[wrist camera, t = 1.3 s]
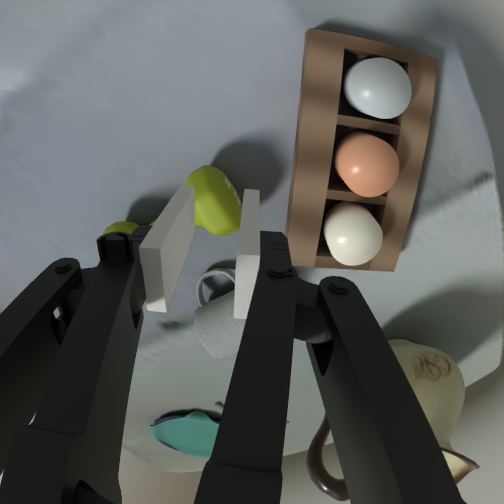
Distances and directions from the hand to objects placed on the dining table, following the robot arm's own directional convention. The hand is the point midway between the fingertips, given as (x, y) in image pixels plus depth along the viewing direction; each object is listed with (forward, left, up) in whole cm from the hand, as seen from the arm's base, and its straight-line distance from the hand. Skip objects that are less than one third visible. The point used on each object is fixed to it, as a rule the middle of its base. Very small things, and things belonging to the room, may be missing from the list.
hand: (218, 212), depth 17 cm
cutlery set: (+57, -3, -20) cm, 61 cm away
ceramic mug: (+21, 0, -20) cm, 29 cm away
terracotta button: (0, +13, -18) cm, 22 cm away
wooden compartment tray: (0, +13, -20) cm, 23 cm away
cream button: (+8, +13, -18) cm, 24 cm away
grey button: (-8, +13, -18) cm, 24 cm away
